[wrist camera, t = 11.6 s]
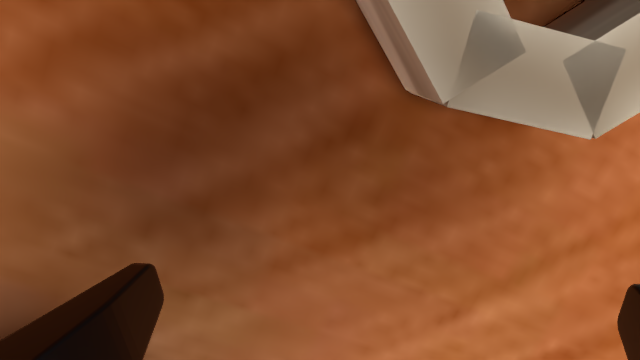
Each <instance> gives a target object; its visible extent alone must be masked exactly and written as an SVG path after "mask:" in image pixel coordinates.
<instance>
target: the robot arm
mask: <svg viewBox="0 0 640 360" xmlns="http://www.w3.org/2000/svg"><path fill="white" fill-rule="evenodd" d="M163 301H164V294H163V290H162V287H161V284H160V281H159V278H158V274H157V271H156V269H155V267H154V266H153V265H152V264H147V263H133V264H131V265H129V266H127V267H126V268H124V269H122V270H120V271H119V272H117V273H115V274H114V275H112V276H110V277H108V278H107V279H105V280H103V281H102V282H100V283H98V284H96V285H95V286H93V287H91V288H90V289H88V290H86V291H84V292H83V293H81V294H79V295H78V296H76V297H74V298H72V299H71V300H69V301H67V302H66V303H64V304H62V305H60V306H59V307H57V308H55V309H54V310H52V311H50V312H48V313H47V314H45V315H43V316H42V317H40V318H38V319H36V320H35V321H33V322H31V323H30V324H28V325H26V326H24V327H23V328H21V329H19V330H18V331H16V332H14V333H12V334H11V335H9V336H7V337H6V338H4V339H2V340H0V360H143V357H144V355H145V352H146V349H147V347H148V344H149V341H150V338H151V336H152V333H153V330H154V327H155V325H156V322H157V319H158V317H159V314H160V311H161V308H162V305H163ZM618 331H619V334H620V337H621V340H622V343H623V346H624V349H625V352H626V355H627V358H628V360H640V284H633V285H631V286H630V287H629V288H628V290H627V292H626V295H625V298H624V301H623V304H622V307H621V310H620V313H619V316H618Z"/></svg>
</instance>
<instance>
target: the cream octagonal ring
mask: <svg viewBox="0 0 640 360" xmlns="http://www.w3.org/2000/svg"><path fill="white" fill-rule="evenodd" d="M356 2H357V4H358V5H359V7H360V9H361V11H362V13H363V14H364V16H365V18H366V20H367V22H368V23H369V25H370V27H371V29H372V31H373V32H374V34H375V36H376V38H377V40H378V41H379V43H380V45H381V47H382V49H383V50H384V52H385V54H386V56H387V58H388V59H389V61H390V63H391V65H392V67H393V68H394V70H395V72H396V74H397V76H398V77H399V79H400V81H401V83H402V85H403V86H404V88H405V90H407V91H409V93H412V94H414V95H417V96H420V97H422V98H425V99H428V100H430V101H433V102H435V103H438V104H441V105H443V106H446V107H449V108H454V109H458V110H463V111H467V112H471V113H476V114H480V115H485V116H489V117H493V118H498V119H502V120H507V121H511V122H515V123H520V124H524V125H529V126H533V127H537V128H542V129H546V130H551V131H555V132H559V133H564V134H568V135H572V136H577V137H581V138H586V139H590V140H591V138H595V139H596V138H598V137H599V136H601V135H603V134H604V133H606V132H608V131H609V130H611V129H613V128H614V127H616V126H618V125H619V124H621V123H623V122H624V121H626V120H628V119H629V118H631V117H633V116H634V115H636V114H638V113H639V112H640V0H585V1H584V2H583V3H581V4H580V5H578V6H577V7H575V8H573V9H572V10H570V11H569V12H567V13H565V14H564V15H562V16H561V17H559V18H558V19H556V20H554V21H553V22H551V23H550V24H548V25H546V26H545V27H541V26H537V25H533V24H530V23H526V22H522V21H518V20H514V19H511V17H510V15H509V12H508V10H507V8H506V6H505V4H504V1H503V0H356Z"/></svg>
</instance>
